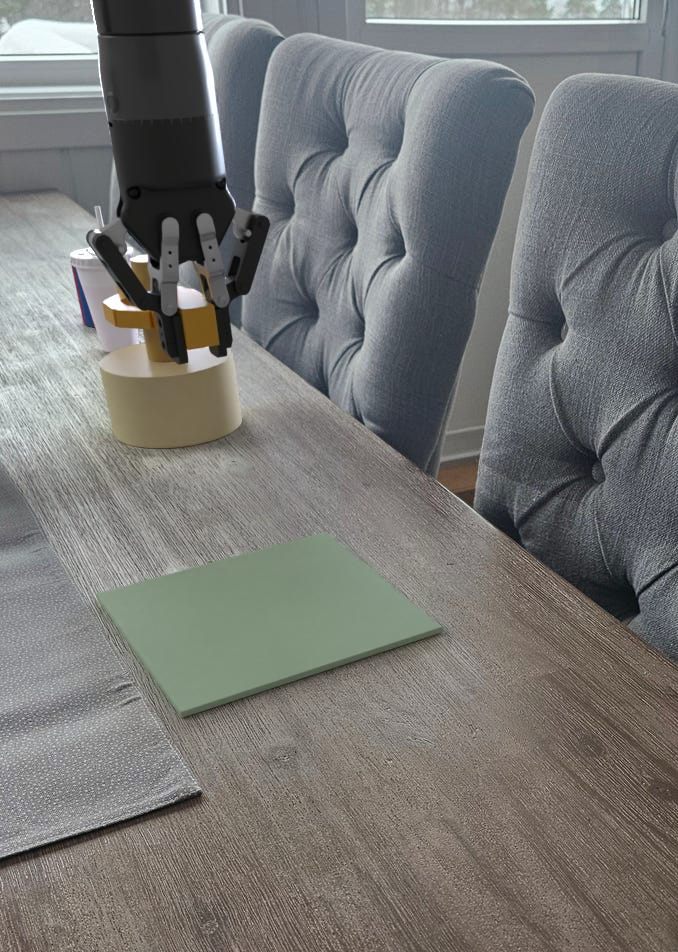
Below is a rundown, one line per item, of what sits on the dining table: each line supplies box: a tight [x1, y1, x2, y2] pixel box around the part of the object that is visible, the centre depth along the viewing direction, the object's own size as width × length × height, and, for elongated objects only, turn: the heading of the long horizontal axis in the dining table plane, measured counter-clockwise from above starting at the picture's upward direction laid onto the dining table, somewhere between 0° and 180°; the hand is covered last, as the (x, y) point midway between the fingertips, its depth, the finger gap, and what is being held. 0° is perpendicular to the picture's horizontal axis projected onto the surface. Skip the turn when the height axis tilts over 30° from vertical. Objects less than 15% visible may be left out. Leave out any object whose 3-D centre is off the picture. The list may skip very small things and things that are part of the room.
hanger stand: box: [98, 254, 243, 449], centre depth 94 cm, size 11×11×14 cm
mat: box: [95, 531, 443, 719], centre depth 69 cm, size 16×16×1 cm
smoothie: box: [69, 205, 140, 353], centre depth 115 cm, size 6×6×14 cm
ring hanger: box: [102, 284, 219, 350], centre depth 90 cm, size 16×8×3 cm, turn 32°
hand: (198, 357), depth 86 cm, fingers closed on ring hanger, 2 cm apart
